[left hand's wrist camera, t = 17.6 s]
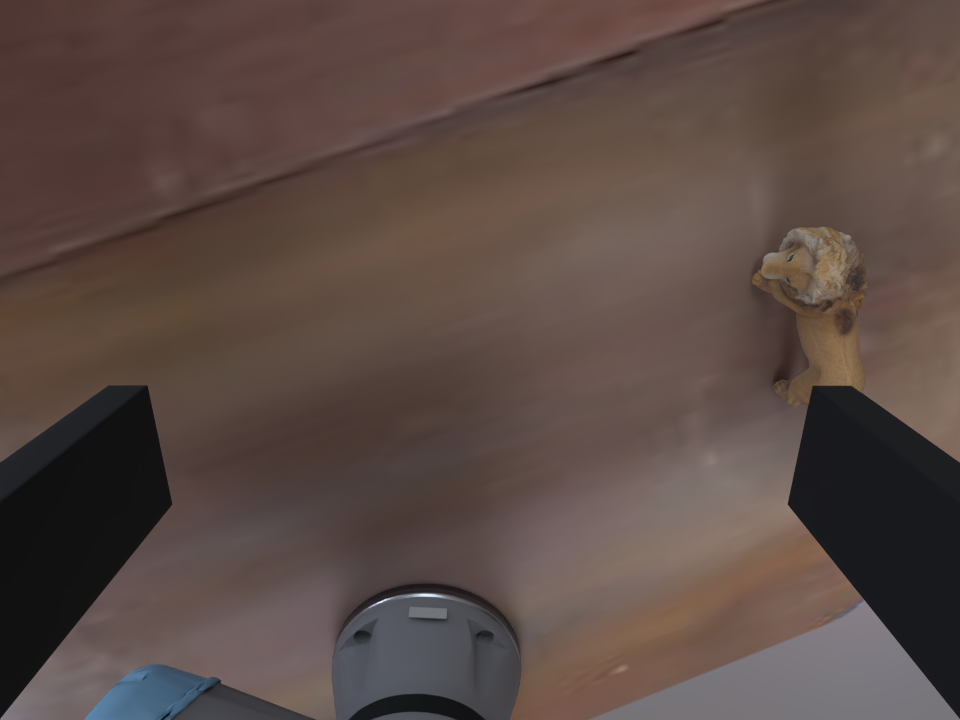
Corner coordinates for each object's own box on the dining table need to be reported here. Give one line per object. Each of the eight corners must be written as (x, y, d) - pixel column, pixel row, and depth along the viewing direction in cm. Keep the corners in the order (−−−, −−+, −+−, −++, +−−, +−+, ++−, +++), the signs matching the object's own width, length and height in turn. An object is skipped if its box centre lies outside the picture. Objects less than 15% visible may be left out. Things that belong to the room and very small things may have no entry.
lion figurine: (711, 232, 39) (774, 262, 31) (793, 192, 38) (882, 212, 30) (782, 419, 44) (853, 490, 35) (856, 387, 43) (948, 452, 34)
